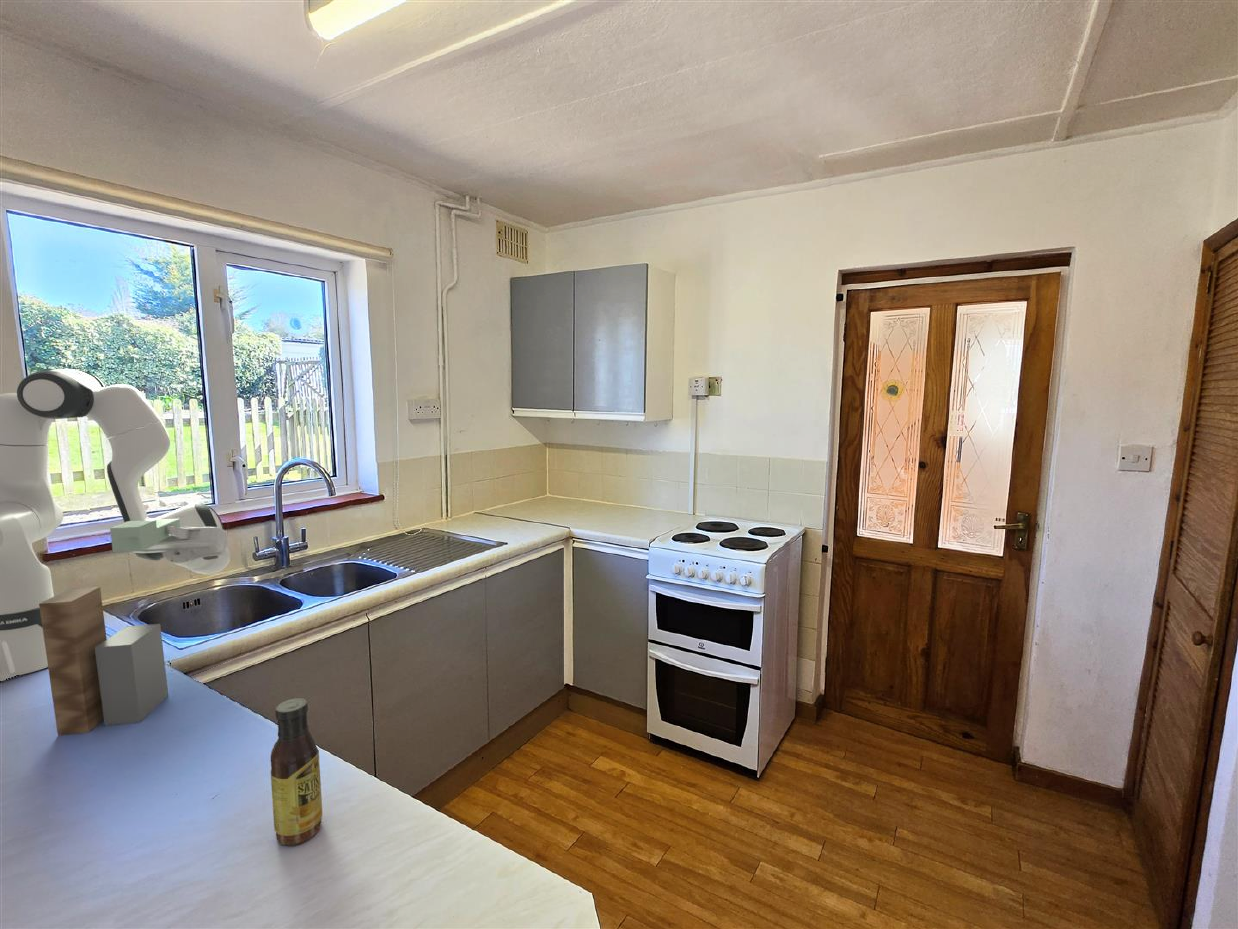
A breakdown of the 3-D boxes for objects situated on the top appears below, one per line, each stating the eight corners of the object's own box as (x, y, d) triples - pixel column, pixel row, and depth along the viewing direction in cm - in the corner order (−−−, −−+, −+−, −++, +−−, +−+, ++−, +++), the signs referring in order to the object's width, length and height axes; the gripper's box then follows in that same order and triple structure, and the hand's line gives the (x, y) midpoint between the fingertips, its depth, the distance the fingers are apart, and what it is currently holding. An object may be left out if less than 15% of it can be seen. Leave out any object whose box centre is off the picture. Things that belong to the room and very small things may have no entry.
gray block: (104, 725, 112) (94, 647, 110) (135, 698, 122) (127, 626, 120) (140, 721, 114) (130, 644, 111) (168, 695, 123) (160, 623, 121)
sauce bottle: (308, 849, 83) (298, 719, 80) (265, 848, 83) (253, 719, 80) (332, 815, 89) (323, 694, 86) (292, 814, 89) (281, 694, 86)
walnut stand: (57, 735, 109) (39, 603, 106) (87, 712, 117) (70, 588, 113) (88, 732, 110) (71, 601, 107) (115, 709, 118) (100, 586, 114)
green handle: (112, 552, 115) (109, 528, 115) (158, 532, 131) (155, 510, 130) (141, 551, 116) (138, 526, 116) (183, 531, 132) (181, 509, 131)
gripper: (138, 535, 137) (101, 518, 124) (235, 531, 141) (208, 514, 128) (133, 562, 134) (94, 547, 122) (231, 556, 138) (204, 541, 126)
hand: (154, 530), depth 125 cm, fingers closed on green handle, 4 cm apart
